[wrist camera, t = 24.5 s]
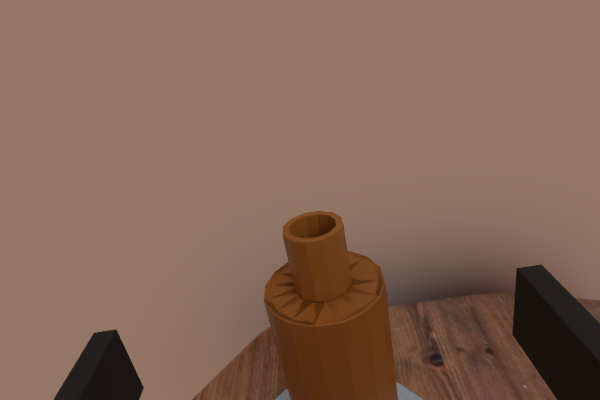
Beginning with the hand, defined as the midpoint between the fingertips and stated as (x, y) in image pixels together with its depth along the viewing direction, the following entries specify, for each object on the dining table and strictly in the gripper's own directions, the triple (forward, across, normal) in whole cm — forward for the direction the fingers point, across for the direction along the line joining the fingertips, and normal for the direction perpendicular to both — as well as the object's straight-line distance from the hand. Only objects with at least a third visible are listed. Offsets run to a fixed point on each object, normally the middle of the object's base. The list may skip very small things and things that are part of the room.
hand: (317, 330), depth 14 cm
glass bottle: (+10, 0, -19) cm, 22 cm away
